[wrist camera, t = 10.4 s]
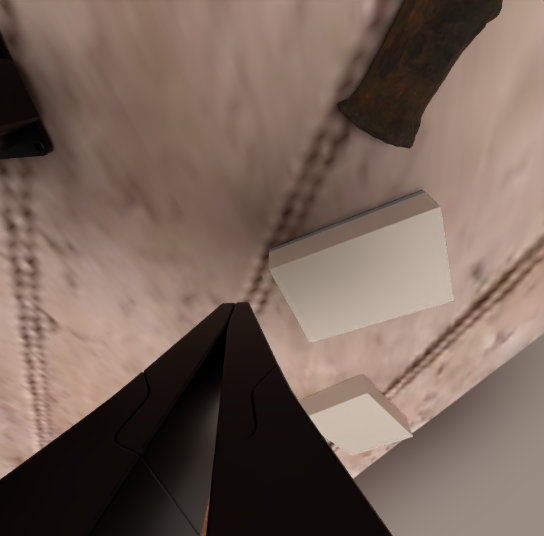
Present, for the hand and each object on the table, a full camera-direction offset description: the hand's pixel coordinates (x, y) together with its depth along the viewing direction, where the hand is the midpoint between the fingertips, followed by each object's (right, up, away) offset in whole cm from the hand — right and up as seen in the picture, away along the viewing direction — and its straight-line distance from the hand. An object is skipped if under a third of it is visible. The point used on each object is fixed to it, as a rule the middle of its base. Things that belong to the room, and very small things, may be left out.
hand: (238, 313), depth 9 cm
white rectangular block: (+7, -12, +22) cm, 26 cm away
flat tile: (+7, +2, +13) cm, 16 cm away
